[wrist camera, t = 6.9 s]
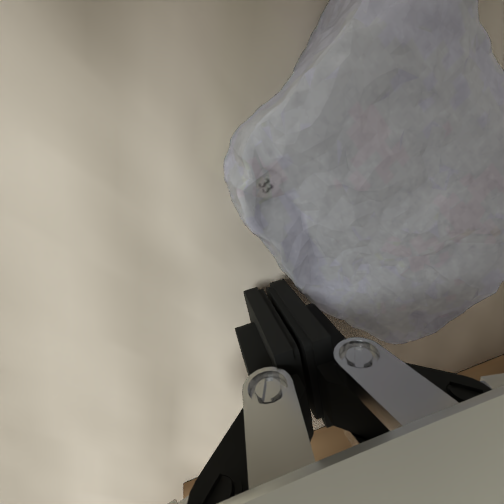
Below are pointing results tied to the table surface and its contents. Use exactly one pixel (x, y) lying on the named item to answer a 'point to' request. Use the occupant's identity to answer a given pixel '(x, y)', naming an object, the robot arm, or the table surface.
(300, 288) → the stone block
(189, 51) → the table surface
